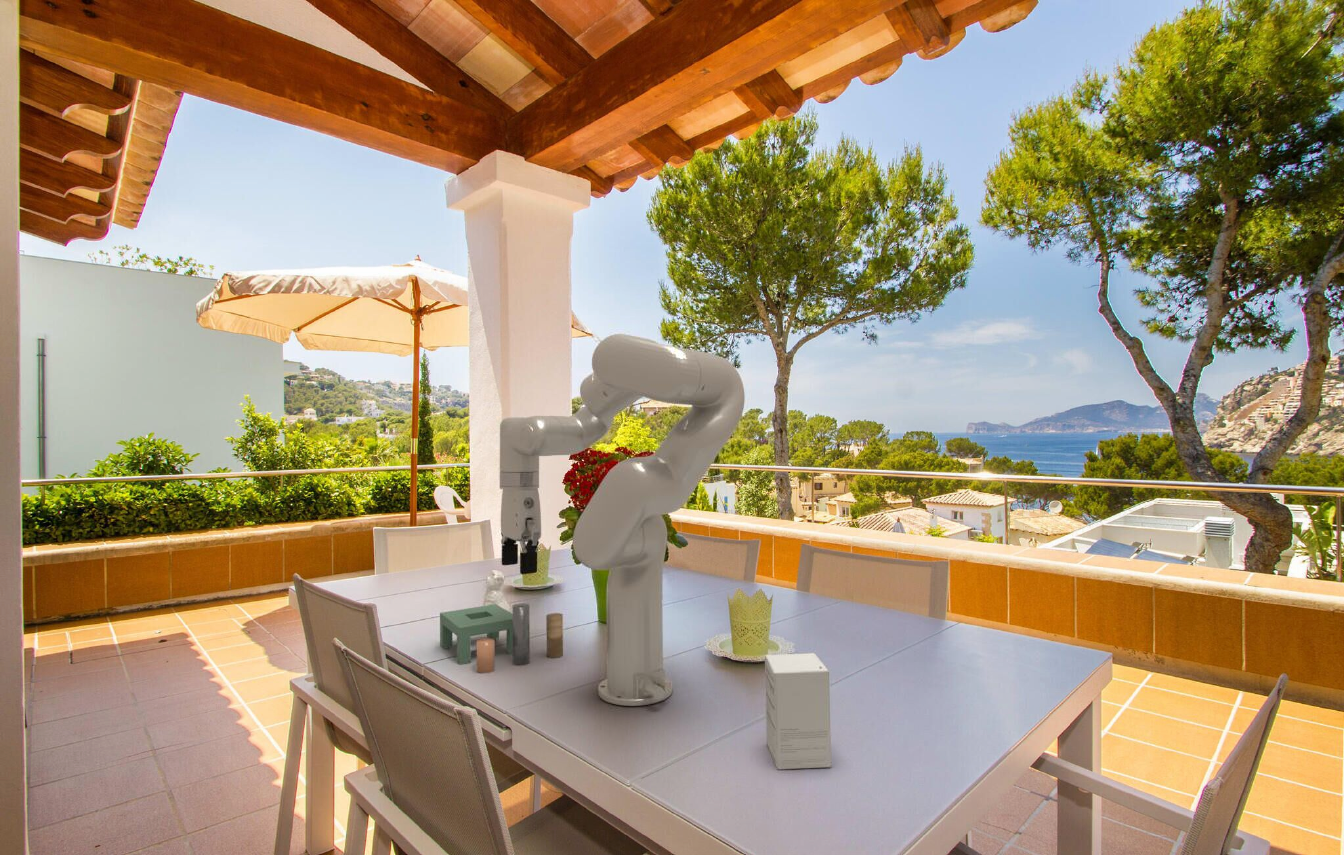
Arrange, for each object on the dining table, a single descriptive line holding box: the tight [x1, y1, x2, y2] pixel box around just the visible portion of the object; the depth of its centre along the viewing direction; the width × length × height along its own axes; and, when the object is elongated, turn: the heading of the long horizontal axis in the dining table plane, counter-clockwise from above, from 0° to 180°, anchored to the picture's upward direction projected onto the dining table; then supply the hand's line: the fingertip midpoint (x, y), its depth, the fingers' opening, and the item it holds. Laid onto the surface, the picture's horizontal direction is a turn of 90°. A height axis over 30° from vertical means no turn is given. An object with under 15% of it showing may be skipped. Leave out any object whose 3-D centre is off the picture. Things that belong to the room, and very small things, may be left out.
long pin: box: [512, 603, 531, 666], centre depth 127 cm, size 3×3×11 cm
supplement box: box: [764, 652, 832, 770], centre depth 88 cm, size 7×7×13 cm
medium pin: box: [545, 612, 564, 659], centre depth 131 cm, size 3×3×8 cm
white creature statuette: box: [482, 569, 511, 613], centre depth 158 cm, size 10×9×12 cm
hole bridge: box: [439, 604, 513, 666], centre depth 135 cm, size 14×12×7 cm
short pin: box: [476, 637, 496, 674], centre depth 123 cm, size 3×3×6 cm
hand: (518, 568), depth 127 cm, fingers open, 9 cm apart
